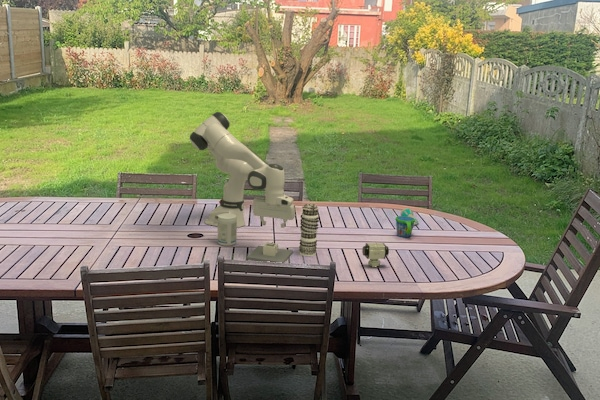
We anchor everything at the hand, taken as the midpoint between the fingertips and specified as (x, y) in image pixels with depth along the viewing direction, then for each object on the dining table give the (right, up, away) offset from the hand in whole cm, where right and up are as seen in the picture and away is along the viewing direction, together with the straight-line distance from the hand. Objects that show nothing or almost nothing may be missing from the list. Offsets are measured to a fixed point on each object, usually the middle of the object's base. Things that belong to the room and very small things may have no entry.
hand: (273, 226), depth 290 cm
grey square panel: (-2, -15, +3) cm, 15 cm away
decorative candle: (+17, -14, +10) cm, 24 cm away
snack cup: (+71, -8, +47) cm, 85 cm away
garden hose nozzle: (+77, -2, +73) cm, 106 cm away
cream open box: (-2, -13, +3) cm, 14 cm away
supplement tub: (-24, -10, +18) cm, 32 cm away
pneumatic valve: (+48, -19, -2) cm, 52 cm away
